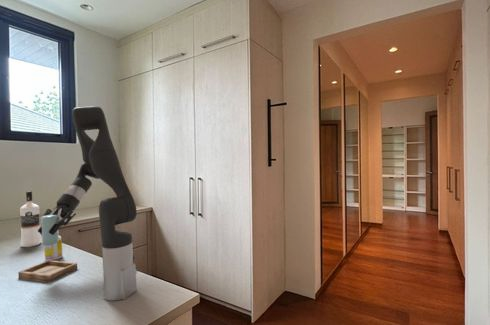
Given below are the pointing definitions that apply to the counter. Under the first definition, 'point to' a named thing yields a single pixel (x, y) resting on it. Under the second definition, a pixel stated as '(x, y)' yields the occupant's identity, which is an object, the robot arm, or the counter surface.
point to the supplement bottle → (54, 250)
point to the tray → (47, 271)
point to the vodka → (30, 223)
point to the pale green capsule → (46, 226)
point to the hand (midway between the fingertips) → (45, 233)
